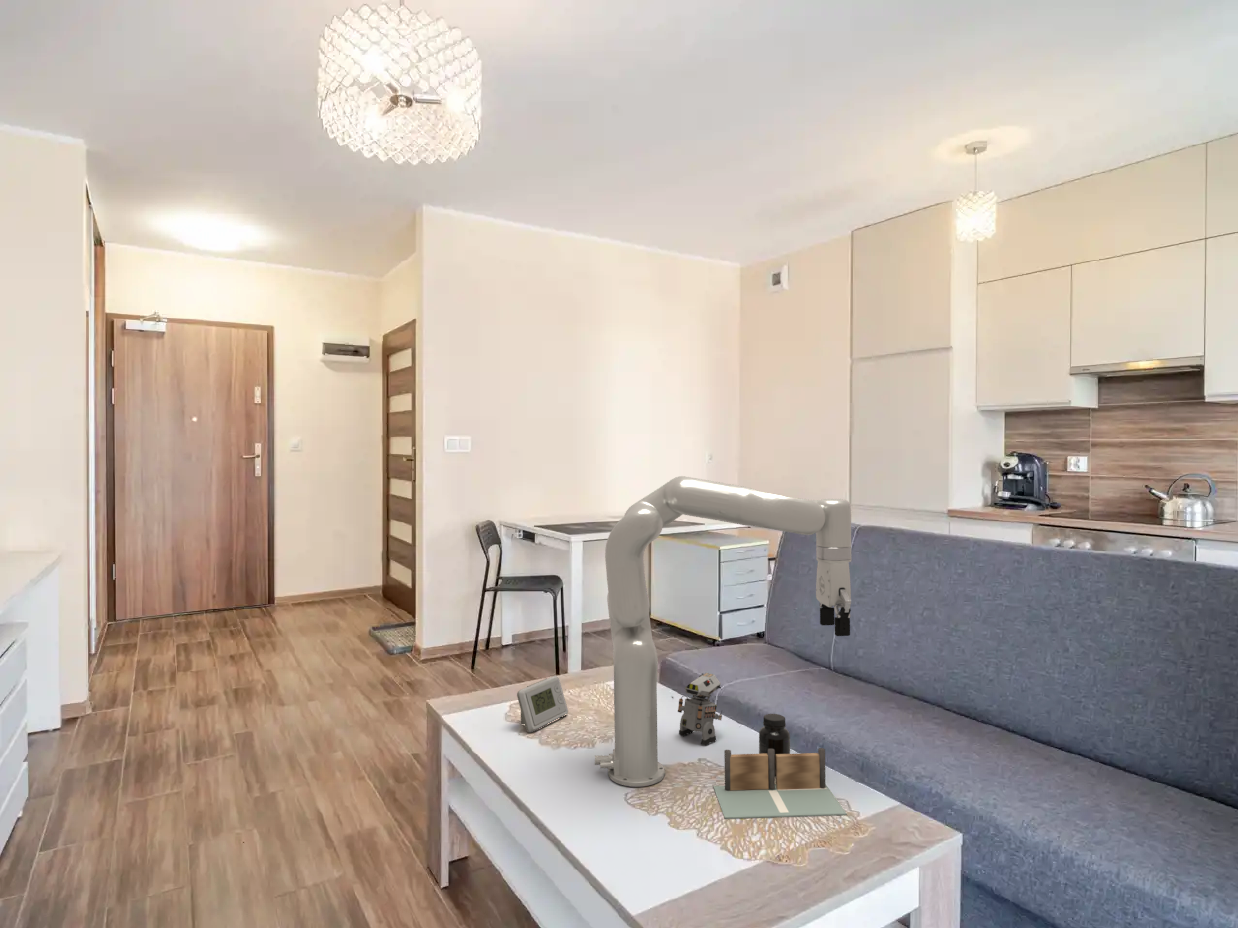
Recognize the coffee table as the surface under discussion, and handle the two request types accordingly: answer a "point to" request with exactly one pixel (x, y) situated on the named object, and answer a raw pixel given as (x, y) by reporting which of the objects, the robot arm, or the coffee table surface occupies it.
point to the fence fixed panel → (801, 770)
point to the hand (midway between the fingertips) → (834, 630)
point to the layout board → (777, 803)
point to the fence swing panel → (749, 771)
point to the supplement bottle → (774, 736)
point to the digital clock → (541, 703)
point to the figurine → (700, 708)
